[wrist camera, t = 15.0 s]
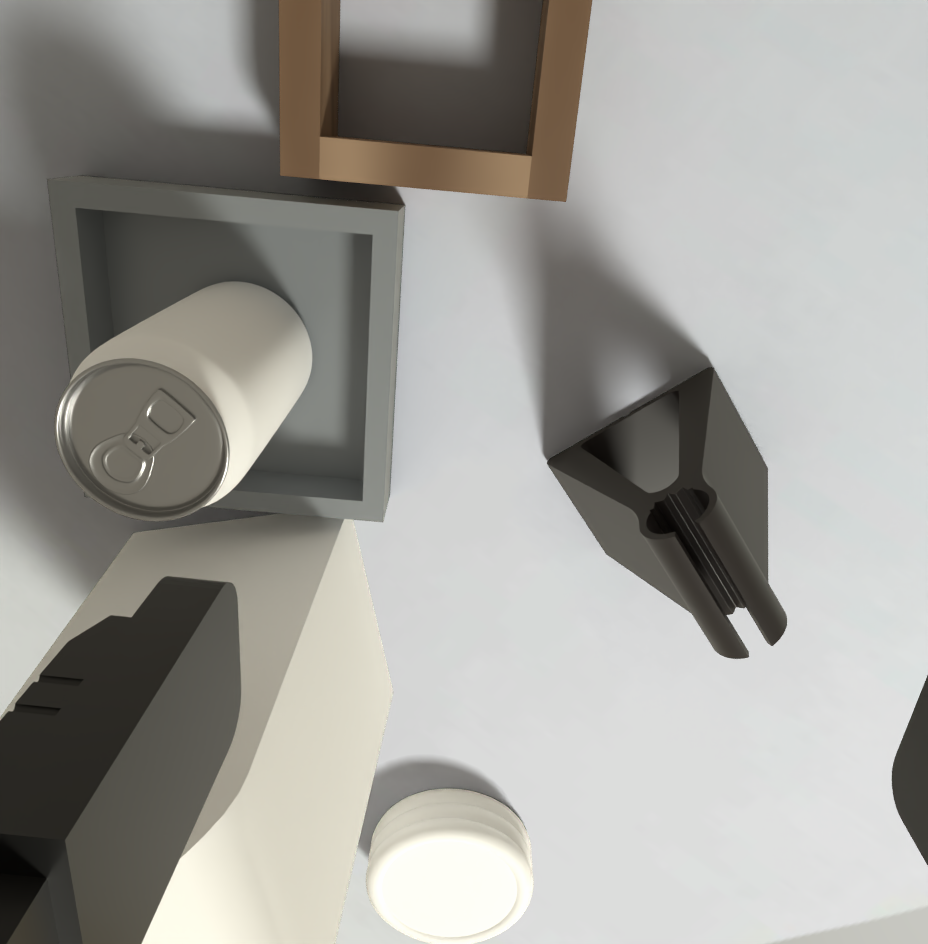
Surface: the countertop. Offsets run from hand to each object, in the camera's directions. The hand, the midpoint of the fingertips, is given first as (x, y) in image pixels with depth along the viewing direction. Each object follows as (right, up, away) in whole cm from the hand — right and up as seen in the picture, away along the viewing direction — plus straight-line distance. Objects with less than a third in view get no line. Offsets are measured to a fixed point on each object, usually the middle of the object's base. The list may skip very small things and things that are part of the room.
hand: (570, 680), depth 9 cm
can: (-11, +8, +27) cm, 31 cm away
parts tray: (-11, +8, +28) cm, 31 cm away
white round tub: (-2, -21, +41) cm, 46 cm away
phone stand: (+8, +3, +30) cm, 31 cm away
